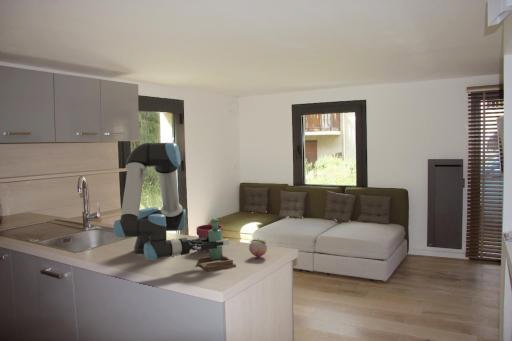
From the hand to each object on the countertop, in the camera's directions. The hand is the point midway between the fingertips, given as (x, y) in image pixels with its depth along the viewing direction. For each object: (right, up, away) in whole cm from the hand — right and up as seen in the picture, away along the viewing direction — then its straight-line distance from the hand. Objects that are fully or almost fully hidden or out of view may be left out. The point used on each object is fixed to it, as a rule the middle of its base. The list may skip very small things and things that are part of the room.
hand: (225, 240), depth 194 cm
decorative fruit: (+16, -11, +11) cm, 22 cm away
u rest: (-4, -12, -2) cm, 12 cm away
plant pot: (-10, -10, +27) cm, 31 cm away
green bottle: (-4, -8, -2) cm, 9 cm away
